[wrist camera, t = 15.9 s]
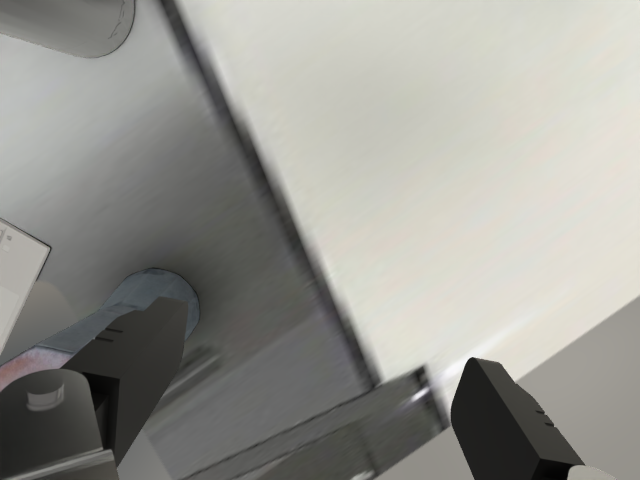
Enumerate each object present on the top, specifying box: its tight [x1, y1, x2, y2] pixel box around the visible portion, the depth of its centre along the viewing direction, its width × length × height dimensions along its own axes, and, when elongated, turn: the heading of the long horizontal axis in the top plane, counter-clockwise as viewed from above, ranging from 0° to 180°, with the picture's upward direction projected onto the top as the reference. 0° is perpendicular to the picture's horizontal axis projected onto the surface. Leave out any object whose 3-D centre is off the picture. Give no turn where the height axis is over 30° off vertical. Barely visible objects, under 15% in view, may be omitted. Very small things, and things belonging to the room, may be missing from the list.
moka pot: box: [0, 268, 200, 392], centre depth 32 cm, size 10×15×20 cm, turn 147°
